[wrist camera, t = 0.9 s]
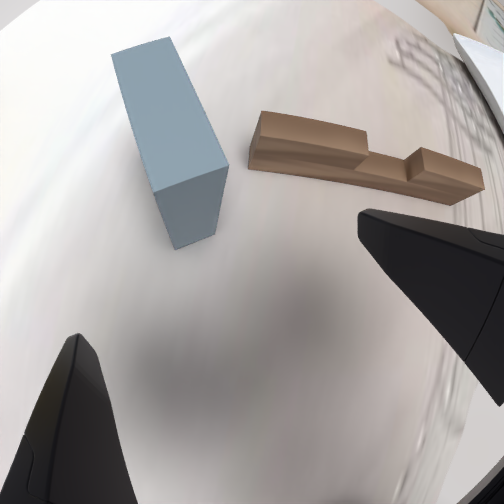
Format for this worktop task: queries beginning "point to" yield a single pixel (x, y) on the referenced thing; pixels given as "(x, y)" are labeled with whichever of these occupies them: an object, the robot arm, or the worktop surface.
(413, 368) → the worktop surface
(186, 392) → the worktop surface
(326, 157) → the slotted rail
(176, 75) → the rectangular block
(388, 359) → the worktop surface
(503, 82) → the salad plate
